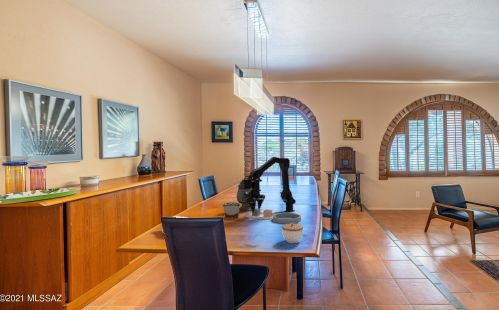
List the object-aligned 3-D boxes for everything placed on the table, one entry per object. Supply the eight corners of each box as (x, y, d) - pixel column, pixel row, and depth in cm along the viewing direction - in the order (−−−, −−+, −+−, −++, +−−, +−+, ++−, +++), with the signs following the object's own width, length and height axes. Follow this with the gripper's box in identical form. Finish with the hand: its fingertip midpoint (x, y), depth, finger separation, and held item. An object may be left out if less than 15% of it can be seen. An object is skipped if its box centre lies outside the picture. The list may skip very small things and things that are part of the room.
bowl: (279, 216, 211) (279, 211, 211) (304, 218, 202) (304, 214, 202) (268, 222, 195) (268, 217, 195) (295, 225, 186) (295, 220, 186)
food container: (241, 216, 213) (241, 201, 213) (240, 218, 207) (240, 203, 207) (224, 216, 215) (223, 202, 214) (222, 218, 209) (222, 203, 208)
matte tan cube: (266, 215, 211) (266, 209, 211) (272, 216, 209) (272, 209, 209) (263, 217, 207) (263, 210, 207) (269, 217, 205) (269, 211, 205)
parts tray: (254, 213, 221) (253, 211, 221) (278, 215, 212) (278, 213, 212) (245, 217, 209) (245, 215, 209) (270, 220, 200) (270, 217, 200)
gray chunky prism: (254, 214, 215) (254, 208, 215) (260, 215, 213) (260, 208, 213) (251, 215, 211) (251, 209, 211) (257, 216, 209) (257, 210, 209)
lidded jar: (280, 238, 160) (279, 220, 160) (300, 237, 161) (299, 220, 161) (284, 245, 150) (283, 226, 150) (305, 244, 151) (305, 225, 150)
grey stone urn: (253, 212, 225) (253, 178, 224) (235, 211, 228) (234, 178, 227) (257, 208, 239) (256, 176, 238) (239, 208, 241) (238, 176, 241)
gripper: (251, 186, 224) (252, 207, 224) (238, 189, 207) (239, 212, 208) (265, 186, 219) (265, 208, 219) (253, 190, 202) (254, 213, 203)
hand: (256, 210), depth 212 cm, fingers open, 9 cm apart
